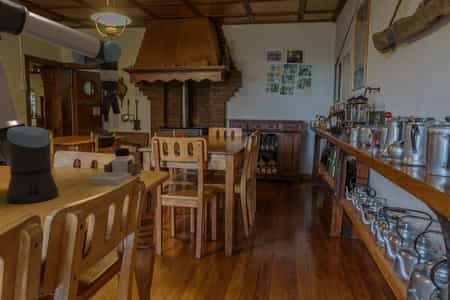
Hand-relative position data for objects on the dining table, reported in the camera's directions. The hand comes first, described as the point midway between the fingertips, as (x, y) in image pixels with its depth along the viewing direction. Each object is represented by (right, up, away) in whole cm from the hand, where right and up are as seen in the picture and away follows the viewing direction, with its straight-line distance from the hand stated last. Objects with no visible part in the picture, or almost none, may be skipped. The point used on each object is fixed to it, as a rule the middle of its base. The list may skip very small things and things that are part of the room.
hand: (111, 128), depth 147 cm
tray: (+4, -22, -14) cm, 27 cm away
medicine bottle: (+5, -21, -1) cm, 22 cm away
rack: (+5, -21, -1) cm, 21 cm away
